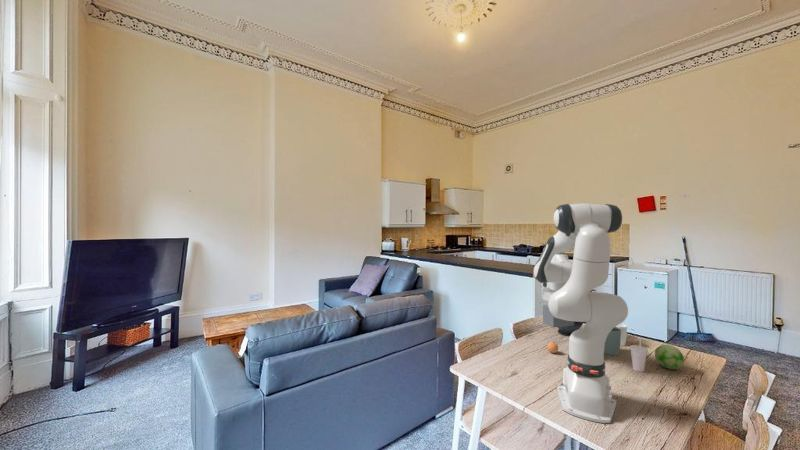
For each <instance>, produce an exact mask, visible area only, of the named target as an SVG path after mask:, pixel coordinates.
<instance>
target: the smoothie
mask: <svg viewBox="0 0 800 450" xmlns="http://www.w3.org/2000/svg"><path fill="white" fill-rule="evenodd" d="M638 340H639V342H638V345H636V344H632V345H629V350H630V354H631V362H632V369H633V370H634V371H635V372H640V373H644V372H645V365H646V359H647V356H648V355H647V354H648V353H649V351H648V350H649V349H648V348H647V347H645V346H642V338H641V337H639V339H638Z"/></svg>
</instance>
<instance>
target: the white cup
mask: <svg viewBox="0 0 800 450" xmlns="http://www.w3.org/2000/svg"><path fill="white" fill-rule="evenodd" d="M615 327H618V328H620V329H621V337H620V339H621V340H620V347H621V346H623V347H624V346H626V344H627V343H626V342H627V334H628V332H627V331H628V325H627V324H625V323H623V322H622V323H620V324H618V325H617V326H615Z"/></svg>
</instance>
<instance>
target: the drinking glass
mask: <svg viewBox="0 0 800 450" xmlns="http://www.w3.org/2000/svg"><path fill="white" fill-rule="evenodd" d="M620 337H621V329H620V328H618V327H614V328H613V329H612V330H611V332H610V333H609V334H608V336H607V338H606V341H605V347H604V355H609V356H619V355H620V352H621V346H620V340H621V339H620Z"/></svg>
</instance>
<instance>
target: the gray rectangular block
mask: <svg viewBox="0 0 800 450" xmlns="http://www.w3.org/2000/svg"><path fill="white" fill-rule="evenodd" d="M542 323H543V324H545V325H547V326H549V327H551V328H554V329H555V328H558V327H564V326H573V325H574V321H566V320H562V319H559V318H555V317H554V316H553V315H552V314H551V312H550V310H549V307H548V304H543V305H542Z"/></svg>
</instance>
